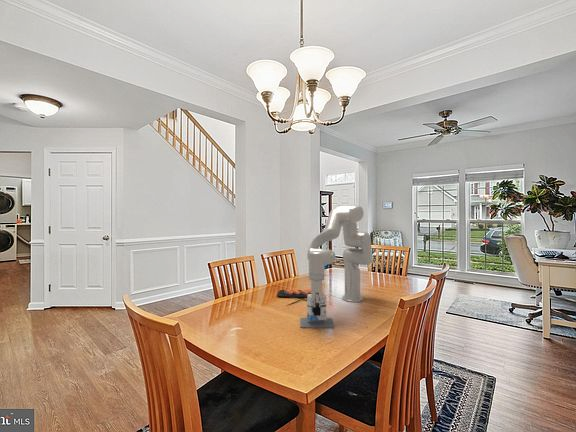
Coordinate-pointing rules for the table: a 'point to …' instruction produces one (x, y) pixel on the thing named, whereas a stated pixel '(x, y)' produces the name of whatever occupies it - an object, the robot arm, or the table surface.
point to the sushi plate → (294, 294)
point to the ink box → (311, 308)
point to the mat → (316, 323)
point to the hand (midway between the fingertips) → (316, 312)
